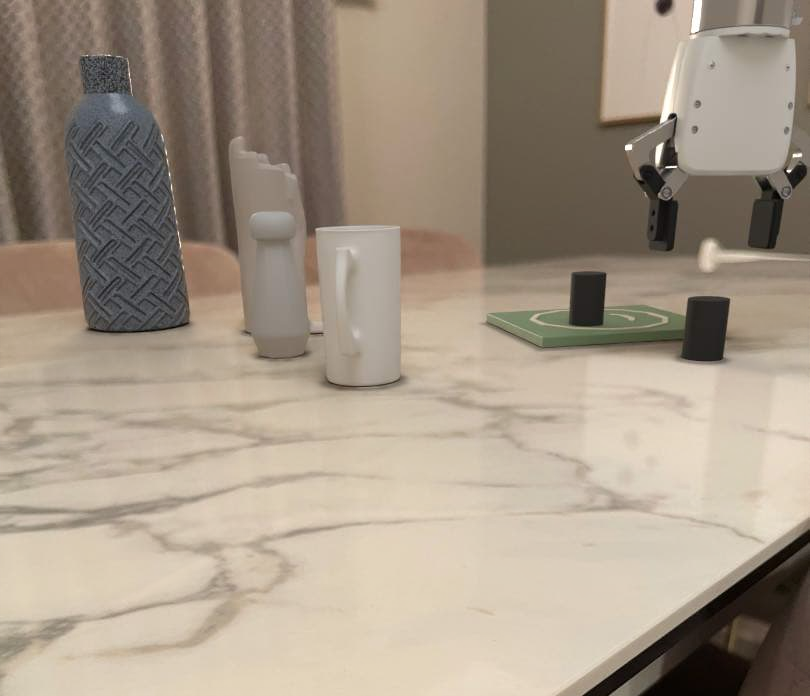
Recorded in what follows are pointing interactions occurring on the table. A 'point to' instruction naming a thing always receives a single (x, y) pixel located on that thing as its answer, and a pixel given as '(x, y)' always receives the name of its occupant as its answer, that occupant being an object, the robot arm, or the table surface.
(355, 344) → the mug
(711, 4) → the robot arm
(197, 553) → the table surface
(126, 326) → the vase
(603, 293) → the black upright cylinder
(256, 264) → the salt shaker
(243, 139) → the foot sculpture
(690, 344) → the black upright cylinder
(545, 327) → the face board
